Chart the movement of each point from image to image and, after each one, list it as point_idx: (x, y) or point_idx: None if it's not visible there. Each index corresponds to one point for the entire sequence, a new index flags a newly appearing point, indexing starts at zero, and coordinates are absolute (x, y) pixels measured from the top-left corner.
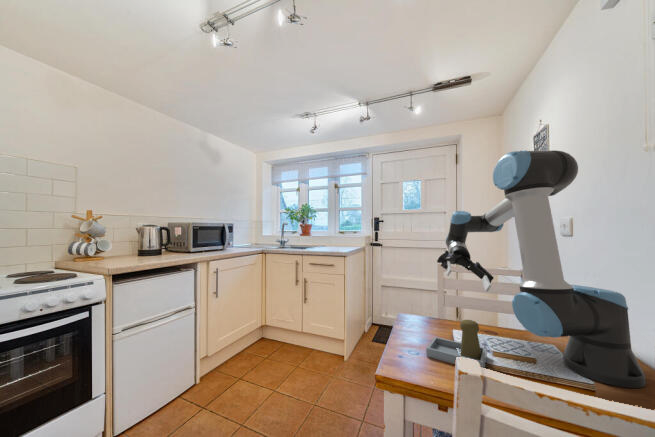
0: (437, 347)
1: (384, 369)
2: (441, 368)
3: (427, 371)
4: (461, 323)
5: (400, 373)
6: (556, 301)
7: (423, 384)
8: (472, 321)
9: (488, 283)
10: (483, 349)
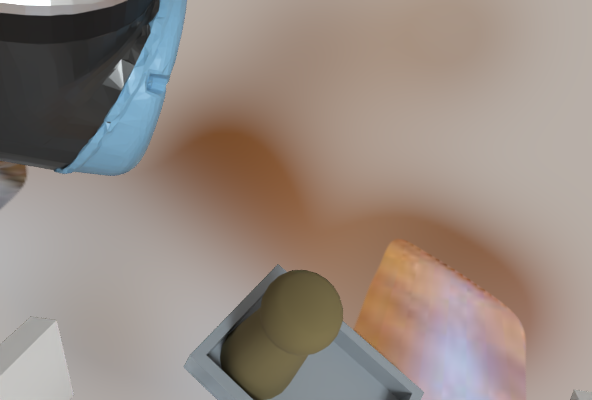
0: None
1: (521, 340)
2: (379, 319)
3: (419, 311)
4: (342, 312)
5: (483, 315)
6: None
7: (435, 264)
8: (300, 288)
9: (28, 352)
10: (210, 348)
